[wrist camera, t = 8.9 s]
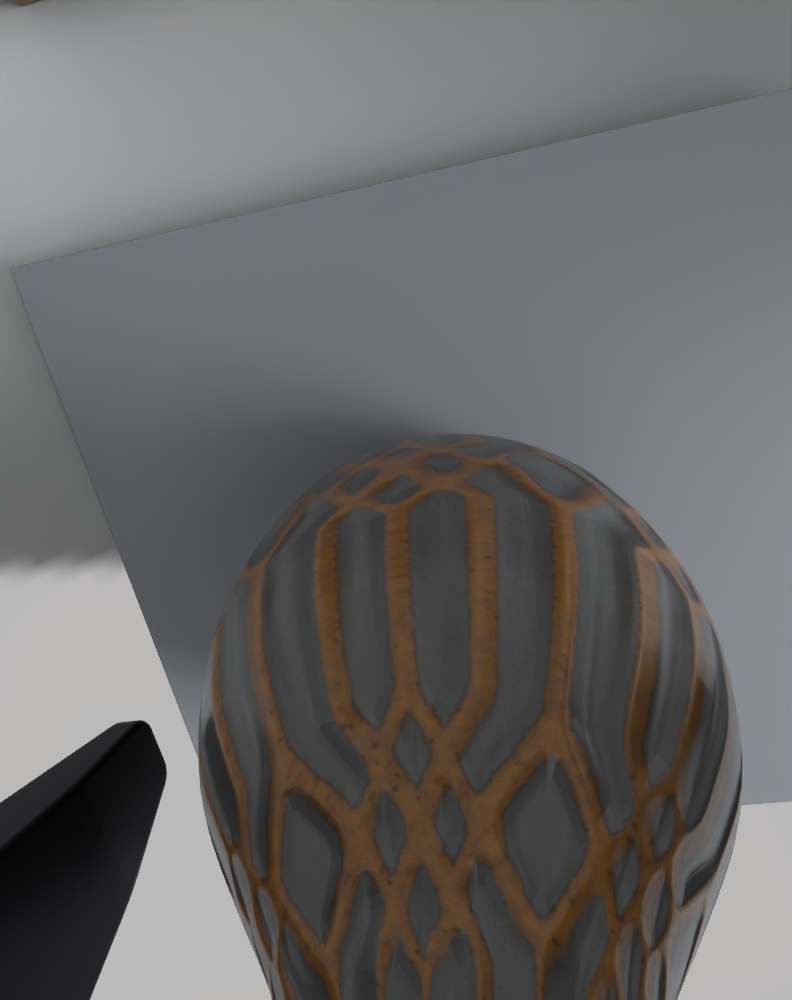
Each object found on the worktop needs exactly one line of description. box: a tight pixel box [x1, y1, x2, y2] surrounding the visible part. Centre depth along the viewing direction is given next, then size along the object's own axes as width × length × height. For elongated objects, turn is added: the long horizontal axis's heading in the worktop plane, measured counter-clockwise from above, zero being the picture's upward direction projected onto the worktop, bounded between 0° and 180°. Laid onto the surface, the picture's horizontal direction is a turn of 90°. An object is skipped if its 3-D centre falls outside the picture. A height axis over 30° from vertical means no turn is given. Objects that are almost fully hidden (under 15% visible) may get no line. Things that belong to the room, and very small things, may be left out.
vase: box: [198, 434, 742, 1000], centre depth 8 cm, size 7×7×9 cm
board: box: [10, 88, 792, 805], centre depth 13 cm, size 14×14×2 cm
